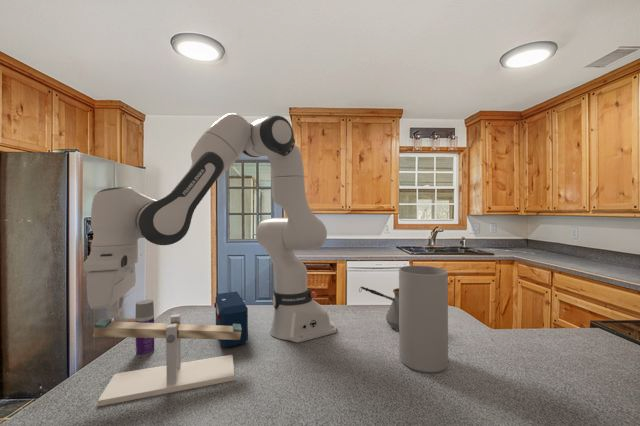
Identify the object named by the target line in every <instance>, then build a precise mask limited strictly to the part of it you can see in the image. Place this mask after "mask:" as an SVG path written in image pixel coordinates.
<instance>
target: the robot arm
mask: <svg viewBox="0 0 640 426" xmlns="http://www.w3.org/2000/svg"><path fill="white" fill-rule="evenodd" d="M294 134H295V133H294V130H293V126H292V125H291V123H290V121H289V120H288V119H287V118H285V117H284V116H281V115H269V116H266V117H263V118H260V119H257V120H255V121H253V122H252V123H249V122H248V121H247V119H245V118H244V117H243V116H241V115H239V114H237V113H234V112H232V113H231V112H230V113H227V114H225V115H223V116H222V117H221V118H219V119H218V120H216V121H215V122H214V123H213V124H211V126H210V127H208V129H207V130H206V131H205V132H204V133H203V134H202V135H201V136H200V137H199V139H198V140H197V142H196V143H195V145H194V146H193V148H192V150H191V151H190V158H191V166H190V168H189V169H188V171H187V172H186V174H185V175H183V177H182V179H181V180H180V181H179V182H178V183H177V185H176V186H175V187H174V188H173V189H172V190H171V191H170V193H168V194H167V195H166V196H165V197H163V198H161V199H154V198H151V197H149V196H146V195H144V194H143V193H140V192H139V191H137V190H136V189H134V188H133V187H130V186H118V187H117V186H116V187H115V186H114V187H108V188H103V189H101V190H99V191H97V192H96V193H95V195H94V196H93V198H92V203H91V209H90V210H91V211H90V214H91V215H90V226H91V229H92V233H93V237H92V240H91V243H90V245H91V248H90V249H91V251H90V253H89V255H88V257H87V258H86V260H85V259H84V260H85V261H84V262H83V272H86V273H87V272H88V273H87V274H86V296H87V303H88V306H89V308H90V309H92V310H98V309H107V310H108V315H109V316H108V317H109V319H117V318H118V317H120V315H121V314H123V305H124V300H125V294H127V293H128V292H129V291H130V290H131V289H133V288H134V287H135V286H136V279H137V277H136V275H137V274H136V264H137V263H138V261H139V252H138V251H139V247H138V246H139V243H138V241H139V239H142V238H144V239H145V240H147V241H148V242H149V243H151V244H154V245H157V246H171V245H173V244H175V243H179V241H181V240H182V239H183V238H184V237H186V235H187V234H188V231H190V226H191V223H192V218H193V215H194V212H195V210H196V208H197V207H198V205H199V204H200V203H201V201H202V200H203V199H204V197H205V196H206V195H207V193H208V192H209V190H210V189H211V188H212V186H213V185H214V184H215V182H216V181H217V180H218V179H219V178H221V176H223V175H224V174H225V173H226V172H227V171H228V170H229V169H230V168H231V167H233V164H235V162H236V161H237V160H238V158H239V157H240V156H241V154H242V153H243V154H244V155H246V156H248V157H250V158H260V157H267V158H268V161H269V163H270V168H271V169H270V170H271V173H270V175H271V176H270V179H271V195H272V196H271V197H272V200H273V202H274V203H275V205H277V206H279V207H280V208H282V209H283V210H284V212H285V214H286V217H271V218H268V219H264V220H262V221H261V220H260V222H259V223H258V225H257V227H256V231H255V233H256V234H255V237H256V240H257V242H258V244H259V245H260V246H262V248H263V249H264V250H265V251H266V252H267V254H268V256H269V258H270V260H271V262H272V266H273V274H274V275H273V276H274V290H273V296H272V297H273V298H272V299H273V302H272V303H273V308H274V311H273V320H272V325H271V328H270V331H269V332H270V335H271V336H272V337H274V338H276V339H279V340H286V341H290V342H294V343H302V342H305V341H309V340H313V339H317V338H321V337H324V336H328V335H329V336H330V335H332V334H335V333H336V332H337V326H336V324H335V323H334V322H333V321H332V320H331V319H330V316H329V313H328V311H327V309H326V308H325V307H324V306H323V305H322V304H320V303H318V302H317V301H316V300H314V299H317V297H318V294H317V293H316V292H315V291H313V290H311V289H309V288H308V268H307V266H306V264H305V263H304V262H302V261H301V260H300V259H298V258H297V256H296V255H295V252H294V251H312V250H319V249H321V248H322V247H323V246H324V245H325V243H326V242H327V236H328V233H327V228H326V226H325V224H324V222H323V221H322V220H321V219H319V218H318V217H317V216H316V215H315V214H314V213H313V211H312V210H311V207H310V206H309V204H308V199H307V195H306V187H305V186H306V185H305V184H306V183H305V170H304V169H305V168H304V163H303V162H304V161H303V157H302V153H301V150H300V148H299V147H298V146H297V145H295V143H296V140H295V135H294Z"/></svg>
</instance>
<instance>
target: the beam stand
mask: <svg viewBox="0 0 640 426" xmlns="http://www.w3.org/2000/svg"><path fill="white" fill-rule="evenodd" d="M173 322H178V323H180V324H181V313H175V314H171V316H170V323H167V324H168V325H167V327H166V338H165V344H166V345H165V346H166V347H165V349H166V351H165V353H166V354H165V355H166V356H165V357H166V358H165V359H166V361H165V363H166V365H159V366H155V367H148V368H147V367H146V368H142V369H135V370H129V371H122V372H117V373H114V375H113V376H112V378H111V379H110V381H109V382H108V384H107V385H106V387H105V389H104V390H103V392H102V393H101V395H100V397H99V398H98V400H97V407H102V406H107V405H108V406H109V405H112V404H117V403H124V402H128V401H134V400H138V399H143V398H148V397H149V398H150V397H155V396H158V395H164V394H165V395H166V394H169V393H175V392H180V391H186V390H190V389H191V390H192V389H195V388H201V387H202V388H203V387H206V386H212V385H216V384H221V383H227V382H228V383H229V382H233V381H235V379H236V378H235V368H234V367H235V366H234V357H233V354H228V355H222V356H215V357H209V358H204V359H197V360H191V361H185V362H182V349H181V348H182V343H181V340H182V339H181V338H177V324H171V323H173Z"/></svg>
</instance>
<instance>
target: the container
mask: <svg viewBox="0 0 640 426" xmlns="http://www.w3.org/2000/svg"><path fill="white" fill-rule="evenodd" d="M154 305H155V304H154V300H153V299H142V300H139V301H137V302H135V320H134V322H139V323H155V309H154ZM154 352H155V338H135V356H136V357H138V358H140V357H147V356H151V355H152V354H153V353H154Z"/></svg>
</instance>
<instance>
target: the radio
mask: <svg viewBox="0 0 640 426" xmlns="http://www.w3.org/2000/svg"><path fill="white" fill-rule="evenodd" d="M213 306H214V309H215V325H221V326H233V324H241V329H242V330H241V336H240V340H228V339H218V340H219V343H220V345H221V347H223V348H228V347H235V346H239V345H244V344H246V343H247V341H248V339H249V329H248V328H249V319H248V318H249V317H248V316H249V315H248V314H249V313H248V311H249V310H248V307H247V305H246V303H245V302H244V300H243V298H242V297H241V295H240V294H239V293H238V291H231V292H230V291H228V292H223V293H221V292H220V293H218V294H216V296H215V302H214V305H213Z"/></svg>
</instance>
